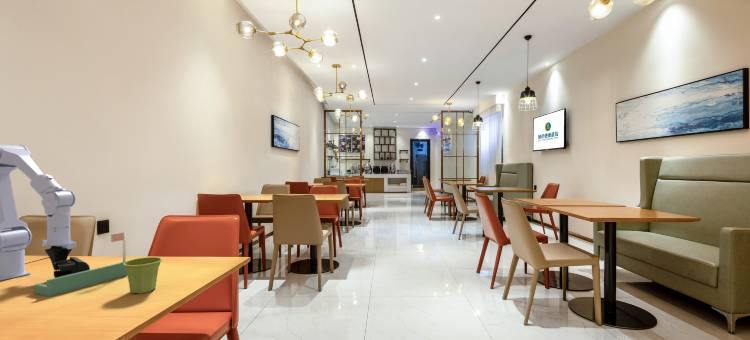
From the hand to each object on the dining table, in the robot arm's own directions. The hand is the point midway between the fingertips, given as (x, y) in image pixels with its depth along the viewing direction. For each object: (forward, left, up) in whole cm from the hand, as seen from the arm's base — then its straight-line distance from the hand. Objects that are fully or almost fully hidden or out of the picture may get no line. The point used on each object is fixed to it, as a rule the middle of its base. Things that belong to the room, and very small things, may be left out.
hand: (58, 269), depth 115 cm
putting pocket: (+14, 0, -3) cm, 14 cm away
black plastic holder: (+7, 0, -3) cm, 7 cm away
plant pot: (+38, +2, -3) cm, 38 cm away
